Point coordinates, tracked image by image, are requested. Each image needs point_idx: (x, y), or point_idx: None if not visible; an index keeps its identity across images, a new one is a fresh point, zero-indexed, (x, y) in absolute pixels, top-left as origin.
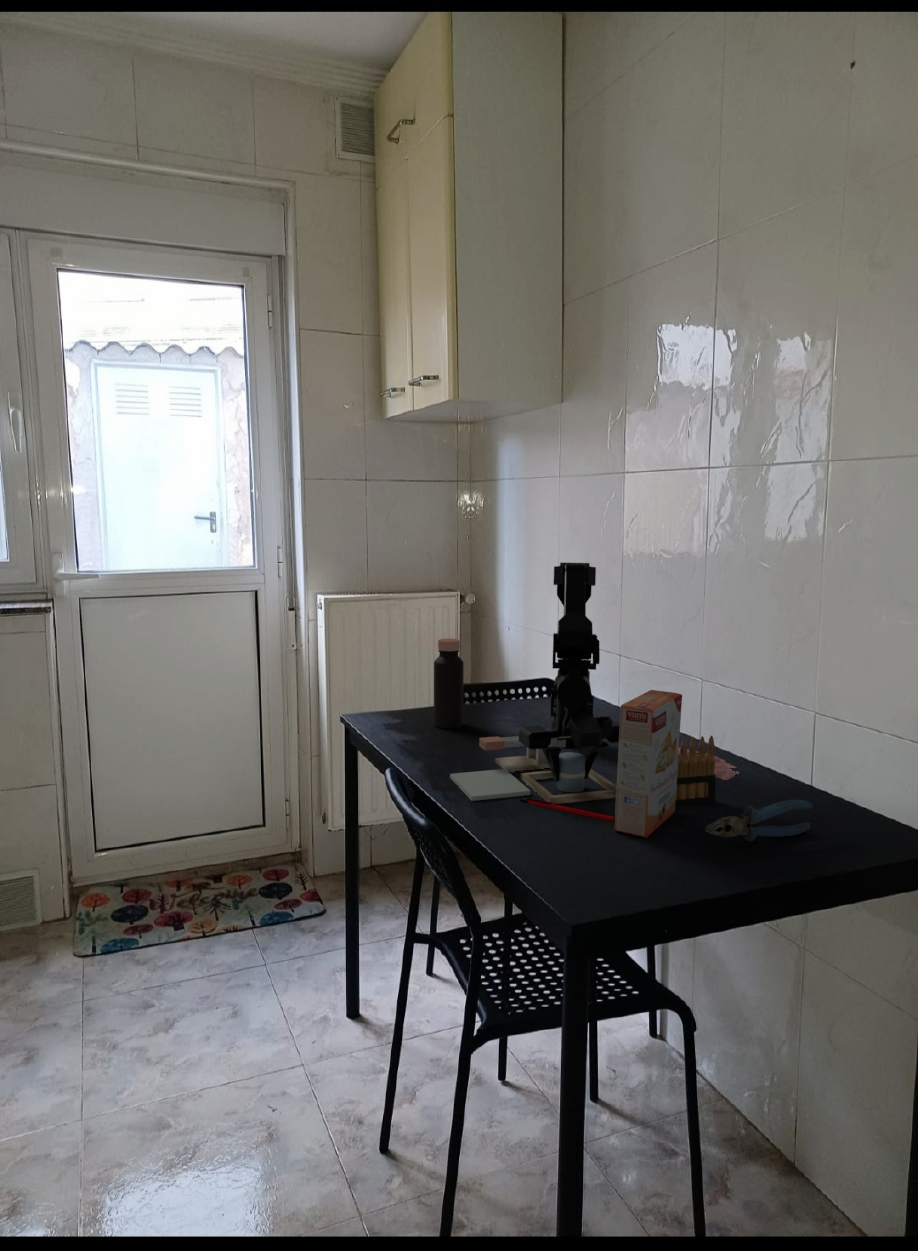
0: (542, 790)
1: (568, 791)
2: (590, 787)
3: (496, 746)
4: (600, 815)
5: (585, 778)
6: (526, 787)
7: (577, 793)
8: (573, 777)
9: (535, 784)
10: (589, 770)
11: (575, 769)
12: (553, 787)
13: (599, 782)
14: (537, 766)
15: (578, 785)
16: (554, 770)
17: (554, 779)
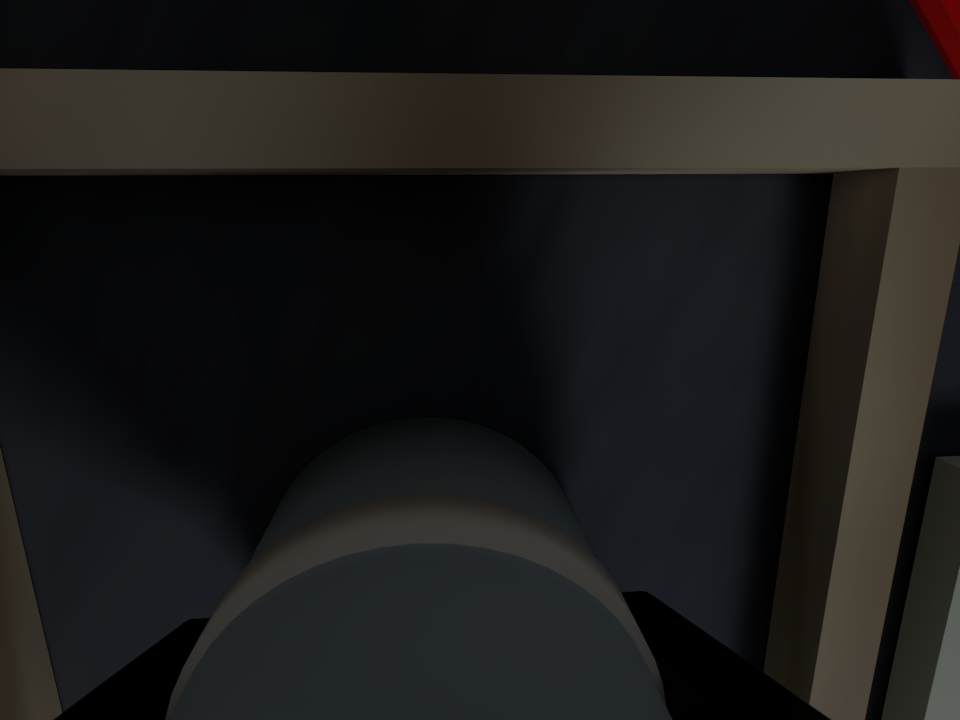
0: (920, 391)
1: (510, 444)
2: (181, 543)
3: None
4: None
5: (208, 619)
6: (956, 583)
7: (540, 147)
8: (478, 511)
9: (875, 604)
10: (80, 709)
11: (448, 608)
12: None
13: (18, 621)
14: None
15: (386, 455)
16: (800, 704)
17: None
